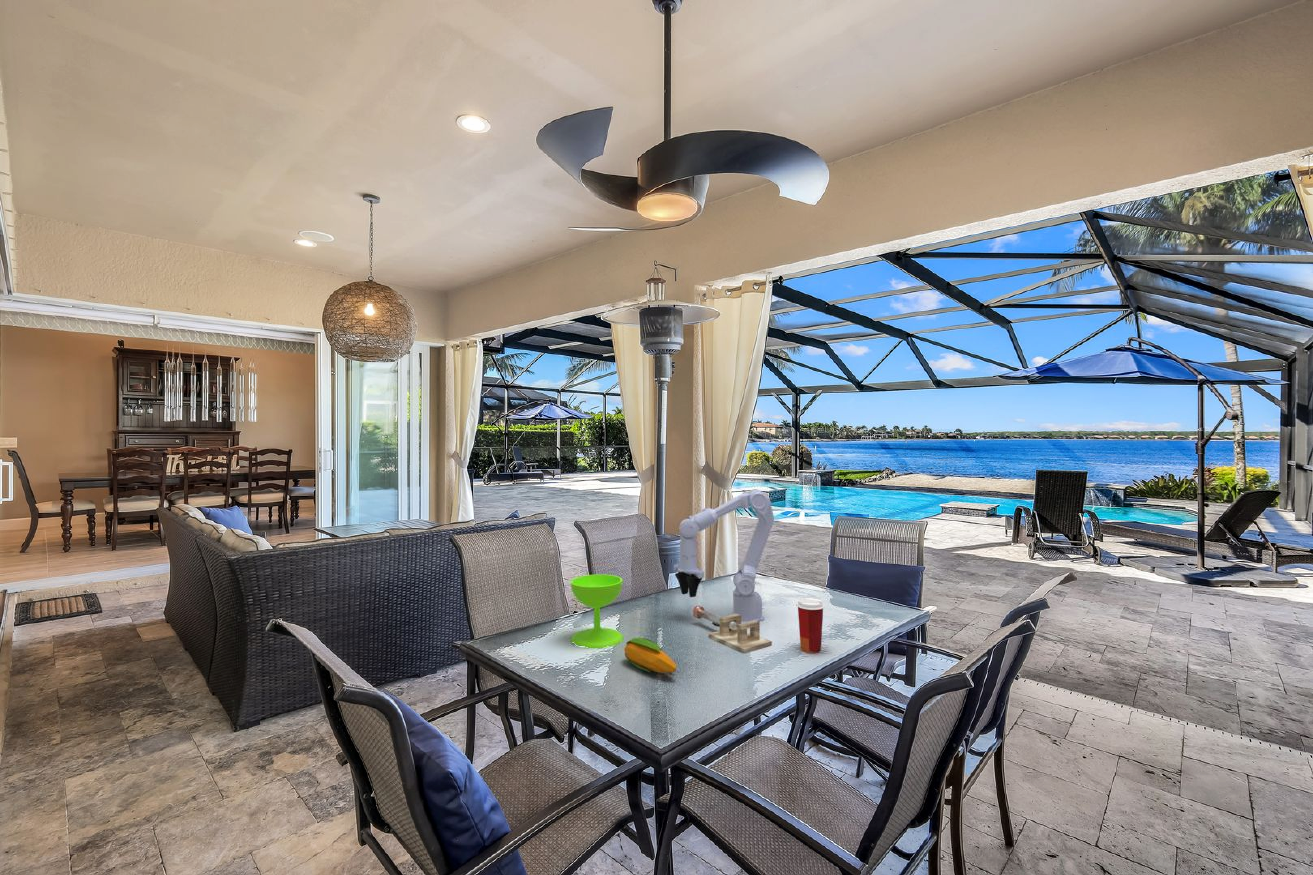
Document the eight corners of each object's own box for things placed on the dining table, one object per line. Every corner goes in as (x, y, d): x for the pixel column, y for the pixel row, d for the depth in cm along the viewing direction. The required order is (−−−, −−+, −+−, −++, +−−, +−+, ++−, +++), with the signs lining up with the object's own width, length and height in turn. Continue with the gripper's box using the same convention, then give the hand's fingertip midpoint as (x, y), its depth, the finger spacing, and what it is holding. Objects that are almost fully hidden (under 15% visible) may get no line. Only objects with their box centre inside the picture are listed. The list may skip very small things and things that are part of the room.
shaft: (693, 618, 187) (692, 606, 187) (702, 616, 189) (702, 604, 189) (730, 634, 171) (729, 620, 172) (739, 631, 174) (739, 618, 174)
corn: (638, 628, 160) (686, 647, 145) (639, 655, 161) (688, 677, 145) (617, 636, 156) (664, 657, 140) (618, 663, 156) (666, 687, 141)
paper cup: (826, 647, 165) (825, 599, 166) (822, 656, 158) (821, 606, 159) (799, 643, 169) (798, 596, 169) (794, 652, 162) (793, 603, 162)
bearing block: (708, 637, 174) (708, 616, 175) (735, 630, 181) (734, 610, 181) (744, 653, 161) (744, 630, 161) (771, 645, 167) (771, 623, 167)
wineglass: (567, 633, 179) (566, 576, 179) (616, 628, 184) (615, 572, 184) (575, 651, 164) (575, 589, 164) (629, 644, 169) (628, 584, 169)
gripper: (666, 553, 195) (666, 592, 195) (692, 560, 184) (692, 602, 183) (682, 550, 199) (683, 589, 199) (709, 557, 187) (709, 598, 187)
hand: (688, 595), depth 192 cm, fingers open, 4 cm apart
